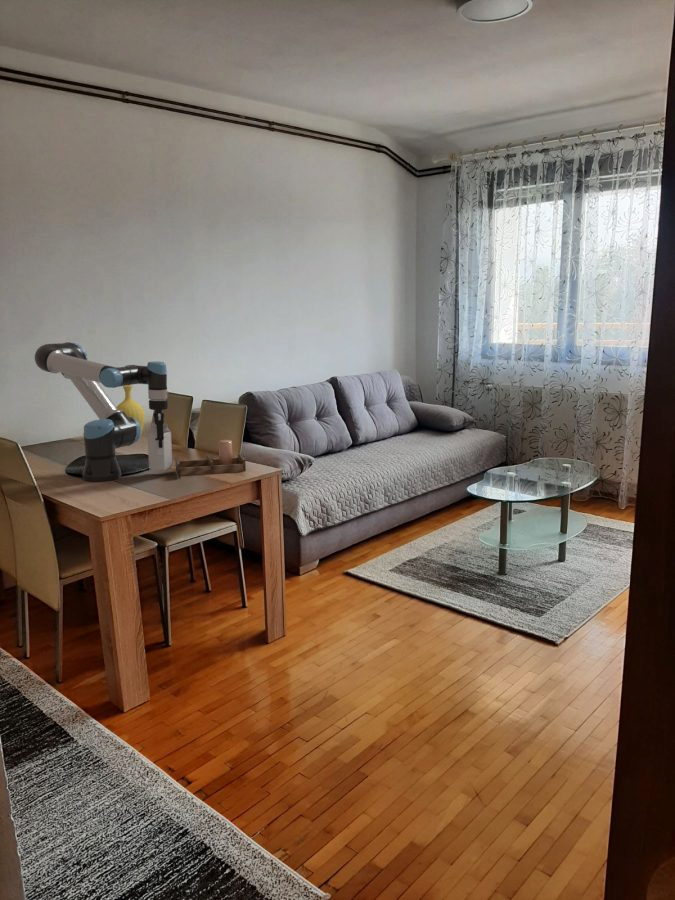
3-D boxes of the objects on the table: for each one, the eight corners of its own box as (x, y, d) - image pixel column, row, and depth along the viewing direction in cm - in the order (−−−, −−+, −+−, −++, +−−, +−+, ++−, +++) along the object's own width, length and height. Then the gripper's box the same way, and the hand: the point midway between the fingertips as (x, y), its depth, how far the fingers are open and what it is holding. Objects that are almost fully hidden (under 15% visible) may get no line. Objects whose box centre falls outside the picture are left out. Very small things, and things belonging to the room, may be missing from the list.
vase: (127, 433, 371) (124, 383, 365) (151, 435, 366) (149, 384, 360) (108, 438, 356) (105, 386, 350) (134, 440, 351) (131, 388, 345)
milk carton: (164, 470, 274) (163, 425, 270) (148, 469, 275) (147, 424, 271) (172, 466, 281) (170, 422, 277) (156, 465, 282) (155, 421, 278)
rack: (178, 478, 273) (177, 463, 271) (175, 470, 286) (175, 456, 284) (245, 473, 281) (245, 459, 280) (240, 466, 294) (239, 452, 293)
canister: (220, 470, 282) (219, 442, 279) (218, 467, 287) (217, 440, 284) (233, 469, 283) (232, 442, 281) (231, 466, 288) (230, 439, 286)
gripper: (169, 403, 262) (171, 458, 267) (165, 395, 283) (167, 446, 288) (149, 403, 260) (151, 458, 265) (147, 396, 281) (149, 447, 286)
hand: (160, 452), depth 276 cm, fingers closed on milk carton, 9 cm apart
